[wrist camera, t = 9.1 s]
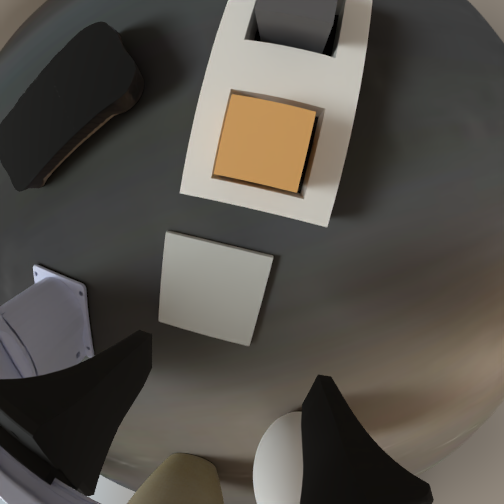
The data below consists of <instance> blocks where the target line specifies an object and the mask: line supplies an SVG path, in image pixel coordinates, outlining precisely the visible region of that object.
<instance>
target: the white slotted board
mask: <svg viewBox="0 0 504 504" xmlns="http://www.w3.org/2000/svg"><path fill="white" fill-rule="evenodd" d="M256 2H257V0H228V2H227V5H226V8H225V11H224V14H223V17H222V20H221V23H220V26H219V29H218V32H217V35H216V39H215V42H214V45H213V48H212V52H211V55H210V59H209V62H208V66H207V69H206V73H205V77H204V81H203V84H202V88H201V92H200V96H199V100H198V105H197V109H196V113H195V117H194V122H193V126H192V131H191V136H190V141H189V145H188V150H187V156H186V161H185V166H184V172H183V177H182V183H181V189H180V193H182V194H187V195H191V196H196V197H201V198H206V199H211V200H215V201H220V202H224V203H229V204H233V205H238V206H242V207H247V208H251V209H255V210H260V211H264V212H268V213H272V214H276V215H281V216H285V217H289V218H293V219H297V220H301V221H305V222H309V223H312V224H316V225H320V226H324V227H327V226H328V223H329V219H330V216H331V212H332V208H333V205H334V201H335V197H336V194H337V190H338V186H339V182H340V178H341V174H342V170H343V166H344V162H345V158H346V153H347V149H348V145H349V140H350V136H351V131H352V126H353V122H354V117H355V112H356V107H357V102H358V97H359V91H360V86H361V80H362V74H363V68H364V62H365V56H366V49H367V42H368V35H369V27H370V19H371V9H372V0H337V6H336V12H335V14H336V15H339V17H338V23H337V28H336V34H335V39H334V44H333V50H332V55H331V57H330V56H327V55H323V54H319V53H315V52H311V51H307V50H303V49H298V48H293V47H289V46H283V45H278V44H272V43H266V42H259V41H254V38H255V35H256V31H257V27H258V24H257V19H256V15H255V10H254V8H255V5H256ZM232 94H234V95H241V96H247V97H252V98H258V99H263V100H268V101H273V102H278V103H282V104H287V105H291V106H295V107H300V108H303V109H307V110H311V111H315V112H316V115H315V116H317V117H318V122H317V126H316V131H315V135H314V139H313V144H312V148H311V152H310V156H309V161H308V165H307V169H306V173H305V177H304V181H303V185H302V189H301V193H295V192H291V191H287V190H283V189H279V188H275V187H271V186H267V185H262V184H258V183H254V182H249V181H245V180H240V179H235V178H231V177H226V176H221V175H216V174H214V170H215V165H216V160H217V156H218V151H219V146H220V142H221V137H222V133H223V128H224V124H225V120H226V115H227V111H228V107H229V103H230V99H231V95H232Z"/></svg>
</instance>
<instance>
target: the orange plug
mask: <svg viewBox="0 0 504 504" xmlns="http://www.w3.org/2000/svg"><path fill="white" fill-rule="evenodd" d="M315 115H316V112H315V111H311V110H307V109H303V108H300V107H295V106H291V105H287V104H282V103H278V102H273V101H268V100H263V99H258V98H252V97H247V96H241V95H234V94H232V95H231V99H230V103H229V107H228V111H227V115H226V120H225V124H224V128H223V133H222V137H221V142H220V146H219V151H218V156H217V160H216V165H215V170H214V174H216V175H221V176H226V177H231V178H235V179H240V180H245V181H249V182H254V183H258V184H262V185H267V186H271V187H275V188H279V189H283V190H287V191H291V192H295V193H297V191H298V187H299V183H300V179H301V175H302V170H303V166H304V162H305V158H306V154H307V150H308V145H309V141H310V137H311V133H312V128H313V124H314V120H315Z"/></svg>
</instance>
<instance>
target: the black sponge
mask: <svg viewBox="0 0 504 504" xmlns="http://www.w3.org/2000/svg"><path fill="white" fill-rule="evenodd" d="M143 89H144V80H143V78H142V75H141V73H140V71H139V69H138V67H137V65H136V64H135V62H134V60H133V59H132V58H131V56H130V55H129V54H128V52H127V51H126V50H125V48H124V46H123V44H122V38H121V36H120V35H119V33H118V32H117V31H116V30H115V29H113V28H112V27H111V26H109V25H108V24H107V23H105V22H97V23H94V24H92V25H90V26H88V27H86V28H84V29H83V30H82V31H80V32H79V33H78V34H77V35H76V36H75V37H74V38H73V39H72V40H70V41H69V42H68V44H67V45H66V46H65V47H64V48H63V49H62V50H61V51H60V52H59V53H58V54H57V55H56V56H55V57H54V58H53V59H52V60H51V61H50V63H49V64H48V65H47V66H46V67H45V68H44V69H43V70H42V72H41V73H40V74H39V75H38V77H37V78H36V79H35V80H34V81H33V83H32V84H31V85H30V86H29V88H28V89H27V90H26V91H25V93H24V94H23V95H22V96H21V97H20V98H19V100H18V102H17V103H16V105H15V106H14V107H13V109H12V110H11V111H10V112H9V114H8V115H7V116H6V117H5V119H4V120H3V121H2V122H1V124H0V160H1V163H2V165H3V167H4V168H5V170H6V171H7V173H8V175H9V176H10V179H11V181H12V184H13V186H14V188H15V189H16V190H17V191H23V190H26V189H28V188H40V187H42V186H44V184H45V182H46V180H47V179H48V177H49V176H50V175H51V174H52V173H53V171H54V170H55V169H56V168H57V167H58V166H59V165H60V164H61V163H62V162H63V161H64V160H65V159H66V158H67V157H68V156H69V155H70V154H71V153H72V152H73V151H74V150H75V149H76V148H77V147H78V146H80V145H81V144H82V143H83V142H84V141H85V140H86V139H88V138H89V137H90V136H91V135H92V134H94V133H95V131H97V130H98V129H99V128H100V127H101V126H103V125H104V124H105V123H106V122H107V121H108V120H109V119H111V118H112V117H113V116H114V115H117V114H121V113H123V112H126V111H128V110H129V109H130V108H132V107H133V106H134V105H135V104H136V103H137V102H138V100H139V98H140V96H141V95H142V92H143Z"/></svg>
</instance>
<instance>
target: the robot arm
mask: <svg viewBox="0 0 504 504" xmlns="http://www.w3.org/2000/svg"><path fill="white" fill-rule="evenodd" d="M33 272H34V280H35V284H34V285H32V286H30V287H29V288H27V289H26V290H24V291H23V292H21V293H20V294H18V295H17V296H15V297H14V298H12V299H11V300H9V301H8V302H6V303H5V304H3V305H2V306H0V498H1V499H2V500H3V501H4V502H5V503H6V504H100V503H98V502H96V501H94V500H92V499H91V498H89V497H87V496H91V495H94V492H95V489H96V485H97V482H98V478H99V475H100V472H101V469H102V466H103V464H104V461H105V458H106V455H107V453H108V450H109V448H110V446H111V443H112V441H113V438H114V436H115V434H116V432H117V429H118V427H119V425H120V424H121V422H122V420H123V418H124V417H125V415H126V414H127V412H128V410H129V409H130V407H131V405H132V404H133V402H134V401H135V399H136V397H137V396H138V394H139V393H140V391H141V389H142V388H143V386H144V384H145V382H146V380H147V377H148V375H149V373H150V371H151V368H152V334H149V333H146V332H143V331H141V330H139V331H137V332H135V333H134V334H132V335H130V336H129V337H127V338H125V339H124V340H122V341H120V342H119V343H117V344H116V345H114V346H112V347H110V348H109V349H107V350H105V351H103V352H102V353H100V354H98V355H96V356H94V350H93V344H92V338H91V330H90V322H89V314H88V304H87V291H86V286H85V285H84V284H83V283H81V282H78V281H76V280H73V279H71V278H68V277H66V276H63V275H61V274H59V273H56V272H54V271H51V270H49V269H47V268H44V267H42V266H40V265H38V264H35V265H34V266H33ZM82 293H83V294H82ZM85 356H88V357H90V359H88V360H86V361H84V362H81V360H82V359H83V358H84V357H85ZM93 356H94V357H93ZM80 362H81V363H80ZM301 435H302V453H303V479H302V490H301V498H300V504H432V502H433V496H432V492H431V489H430V485H429V484H428V483H426V482H425V481H423V480H421V479H420V478H418V477H416V476H415V475H413V474H411V473H410V472H409V471H407V470H406V469H404V468H403V467H402V466H400V465H399V464H398V463H397V462H395V461H394V460H393V459H392V458H391V457H390V456H389V455H388V454H387V453H385V452H384V451H383V450H382V449H381V448H380V447H379V446H378V444H377V443H376V442H375V441H374V440H373V439H372V438H371V437H370V435H369V434H368V433H367V432H366V430H365V429H364V428H363V426H362V425H361V424H360V422H359V421H358V420H357V418H356V417H355V415H354V414H353V412H352V411H351V409H350V407H349V406H348V404H347V403H346V401H345V399H344V398H343V396H342V394H341V393H340V391H339V389H338V387H337V386H336V384H335V382H334V381H333V379H332V377H330V376H323V375H317V377H316V379H315V381H314V383H313V385H312V387H311V389H310V391H309V393H308V395H307V397H306V398H305V400H304V402H303V404H302V415H301ZM74 489H75V490H74ZM81 493H82V494H81Z"/></svg>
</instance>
